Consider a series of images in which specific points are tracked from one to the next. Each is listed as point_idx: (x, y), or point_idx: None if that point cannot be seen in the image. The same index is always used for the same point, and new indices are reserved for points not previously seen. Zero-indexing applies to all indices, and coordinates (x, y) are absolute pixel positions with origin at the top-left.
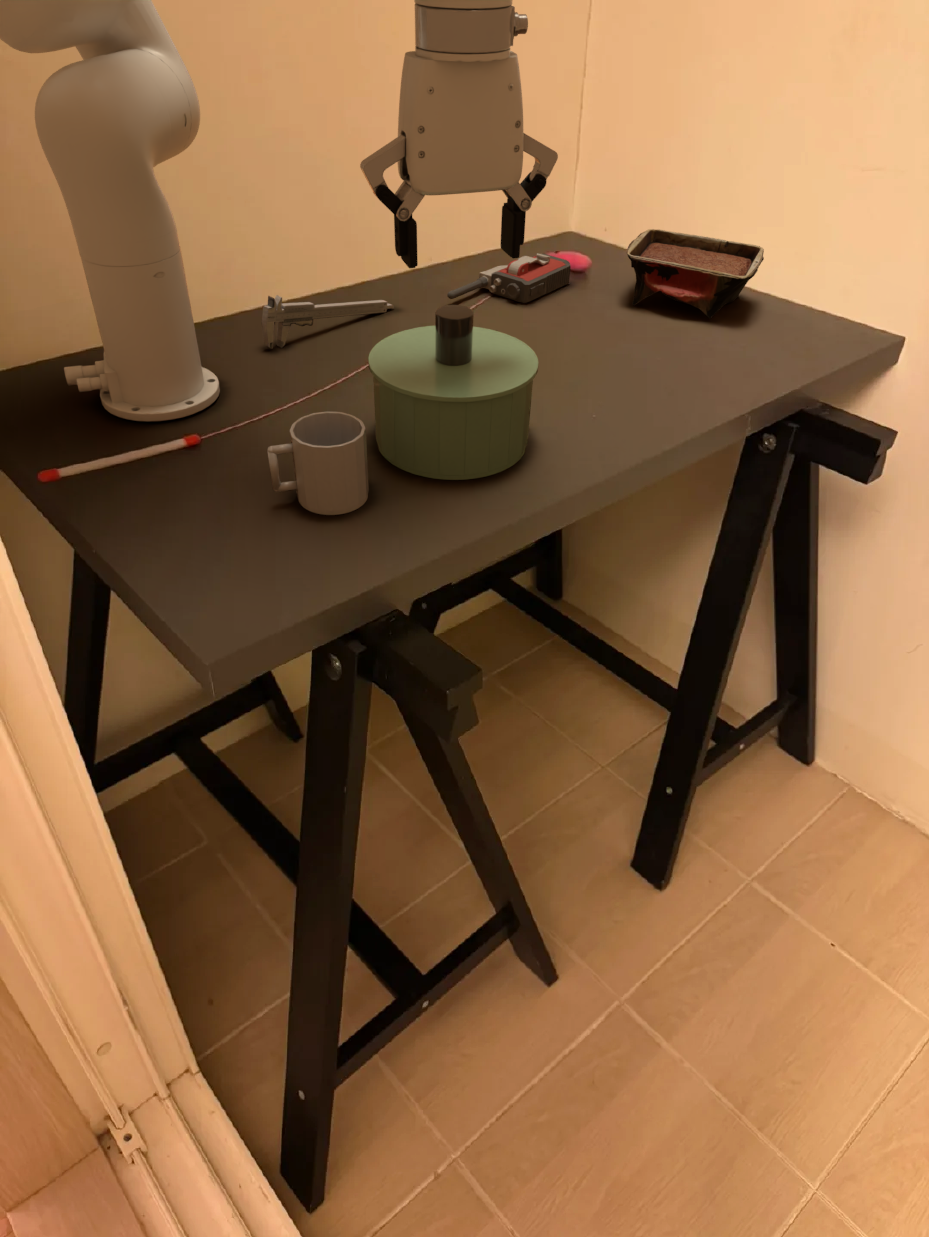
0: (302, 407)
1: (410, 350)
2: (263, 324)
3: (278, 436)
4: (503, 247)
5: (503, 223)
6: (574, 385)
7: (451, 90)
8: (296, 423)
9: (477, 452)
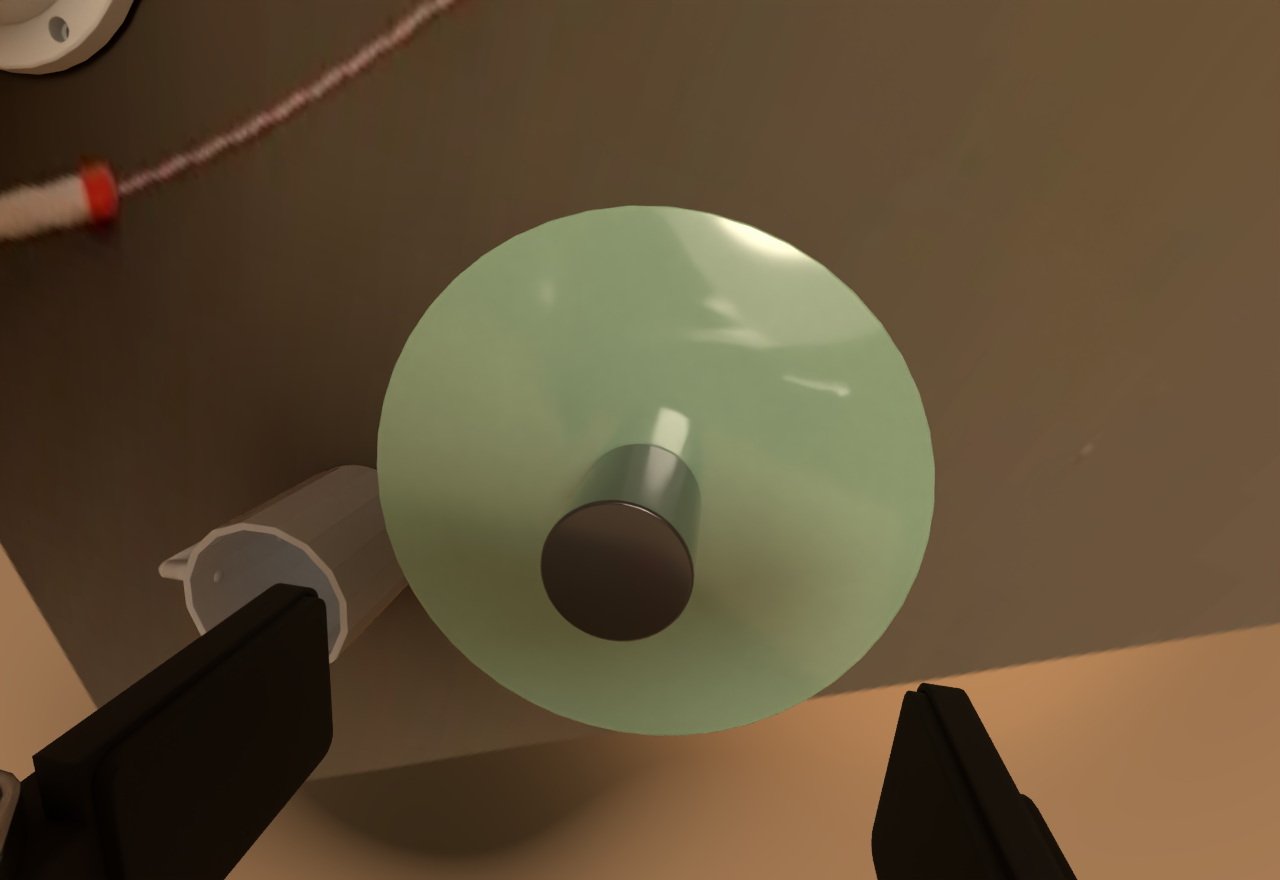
0: (360, 107)
1: (527, 395)
2: None
3: (286, 248)
4: (900, 742)
5: (951, 850)
6: (1174, 256)
7: None
8: (199, 553)
9: None
